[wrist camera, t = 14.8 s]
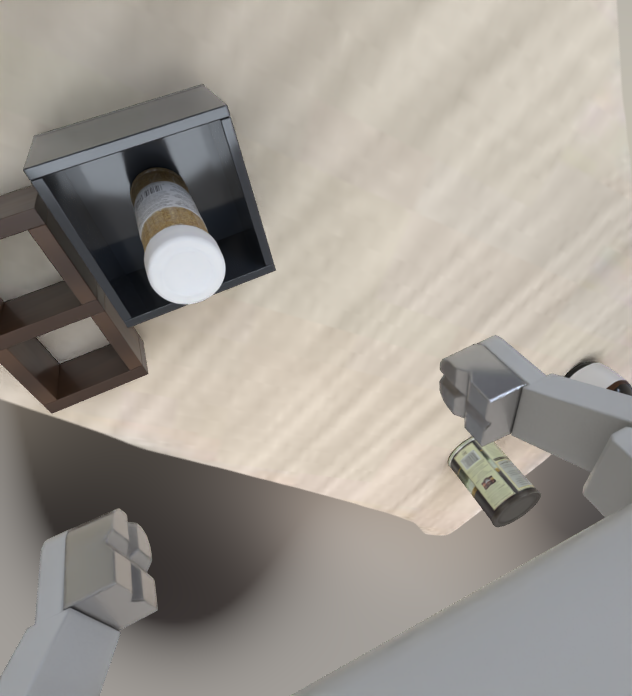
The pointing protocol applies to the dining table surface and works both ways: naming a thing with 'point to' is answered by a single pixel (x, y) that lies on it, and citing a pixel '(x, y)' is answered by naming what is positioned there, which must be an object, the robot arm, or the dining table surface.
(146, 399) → the dining table surface
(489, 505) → the coffee can
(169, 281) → the spice jar
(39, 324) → the rack
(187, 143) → the dark grey open box
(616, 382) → the spread jar
